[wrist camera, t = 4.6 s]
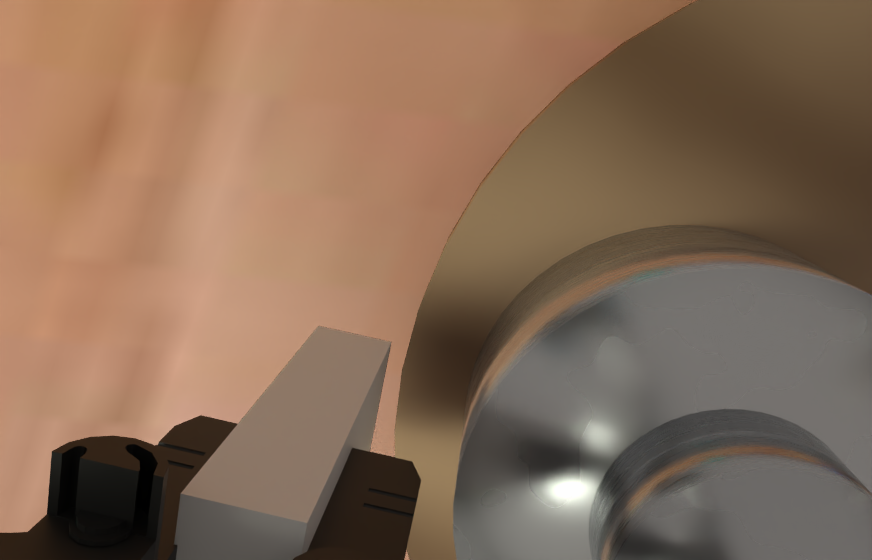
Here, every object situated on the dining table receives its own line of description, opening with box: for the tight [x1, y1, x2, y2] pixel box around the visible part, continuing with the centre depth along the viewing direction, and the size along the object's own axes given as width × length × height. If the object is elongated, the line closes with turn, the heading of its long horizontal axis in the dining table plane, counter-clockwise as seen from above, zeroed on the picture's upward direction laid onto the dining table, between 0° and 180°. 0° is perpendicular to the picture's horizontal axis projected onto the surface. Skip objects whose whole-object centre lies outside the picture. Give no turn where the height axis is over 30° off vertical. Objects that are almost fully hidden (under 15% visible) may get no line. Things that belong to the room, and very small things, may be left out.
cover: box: [453, 225, 872, 560], centre depth 13 cm, size 9×9×6 cm
